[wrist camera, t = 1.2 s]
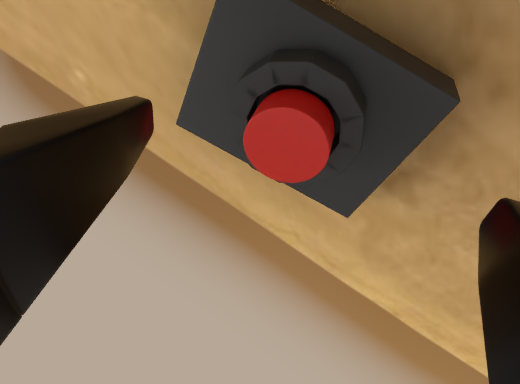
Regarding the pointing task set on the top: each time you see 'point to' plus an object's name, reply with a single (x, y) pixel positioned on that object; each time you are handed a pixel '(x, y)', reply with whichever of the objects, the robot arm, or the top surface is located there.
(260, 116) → the power button
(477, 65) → the top surface
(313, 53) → the grey button base
